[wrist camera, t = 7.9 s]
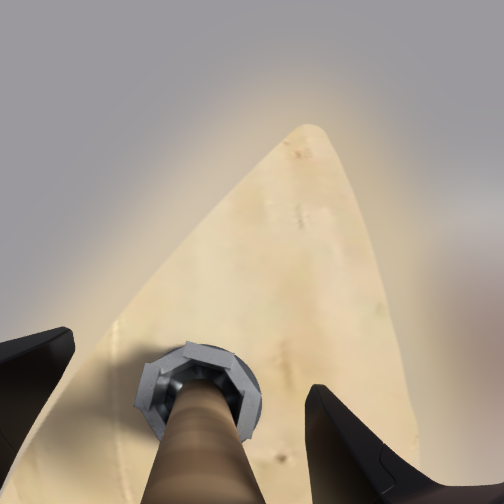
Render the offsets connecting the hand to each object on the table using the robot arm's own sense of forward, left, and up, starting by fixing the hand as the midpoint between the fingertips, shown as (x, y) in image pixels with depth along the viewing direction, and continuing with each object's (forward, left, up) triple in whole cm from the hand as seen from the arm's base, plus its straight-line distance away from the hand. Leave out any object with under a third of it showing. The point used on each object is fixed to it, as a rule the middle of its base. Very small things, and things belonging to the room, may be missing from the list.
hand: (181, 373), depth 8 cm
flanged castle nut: (-1, 0, -13) cm, 13 cm away
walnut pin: (-1, 0, -11) cm, 11 cm away
